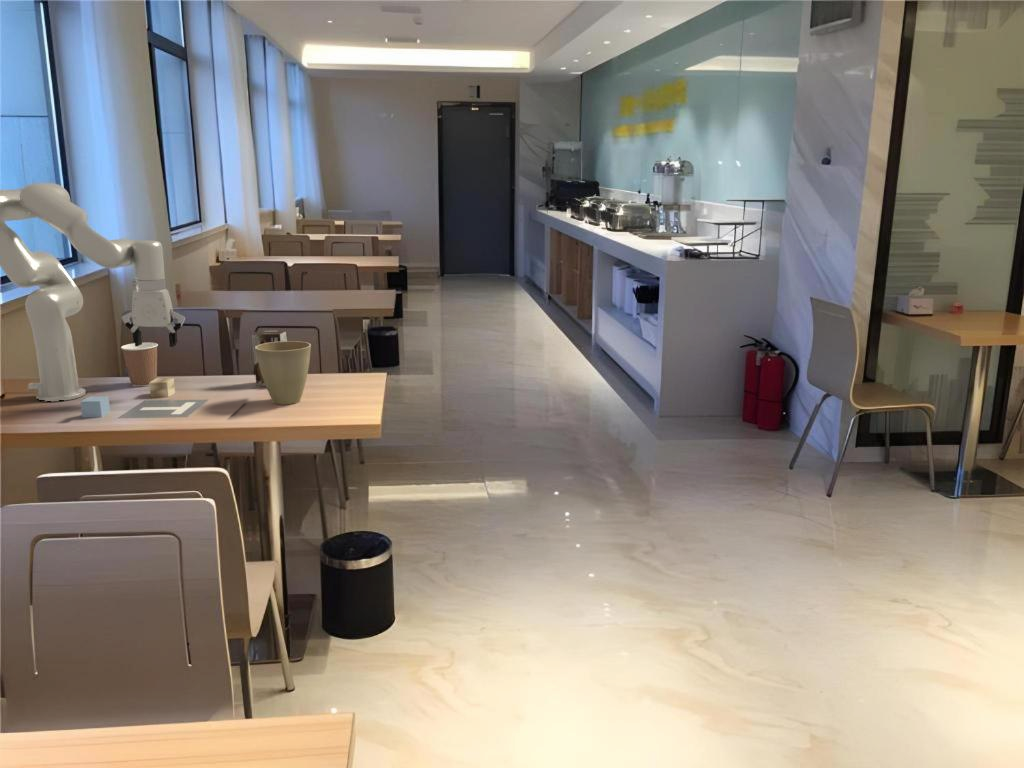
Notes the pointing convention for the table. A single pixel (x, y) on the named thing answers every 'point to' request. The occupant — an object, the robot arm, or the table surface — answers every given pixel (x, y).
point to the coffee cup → (141, 363)
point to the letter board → (164, 409)
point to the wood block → (162, 387)
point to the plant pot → (284, 369)
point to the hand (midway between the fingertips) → (155, 345)
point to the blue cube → (95, 406)
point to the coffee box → (262, 338)
